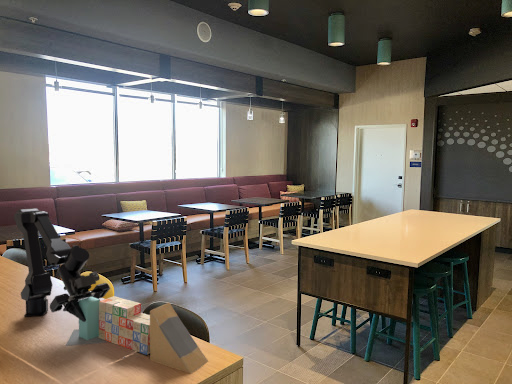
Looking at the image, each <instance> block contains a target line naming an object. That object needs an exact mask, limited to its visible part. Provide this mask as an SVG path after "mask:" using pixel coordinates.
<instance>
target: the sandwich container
mask: <svg viewBox="0 0 512 384" xmlns="http://www.w3.org/2000/svg"><path fill="white" fill-rule="evenodd" d="M149 315H150V354H149V355H150V356H149V359H150V360H149V361H152V362H154V363H157V364H160V365H163V366H166V367H169V368H172V369H176V370H178V371H182V372H184V373H188V374H193V373H195V372H196V371H198V370H199V369H201V368H202V367H203V366H205V365H206V364H207V363H208V362H209V360H208V358H207V357H206V355H205V354H204V353H203V351H202V350H201V348H200V347H199V345H198V344H197V342H196V341H195V340H194V338H193V337H192V335H191V334H190V332H189V330H188V329H187V327H186V326H185V325H184V323H183V321H182V320H181V319H180V316H178V314H177V312H176V310H174V307H173V305H171V303H170V302H167V303H165V304H163V305H160V306H157V307H155V308H153V309H151V310H150V311H149Z"/></svg>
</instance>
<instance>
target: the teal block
mask: <svg viewBox="0 0 512 384" xmlns="http://www.w3.org/2000/svg"><path fill="white" fill-rule="evenodd" d="M99 301H101V298H99V299H97V298H94V297H87V298H84V299H81V300H79V306H80V308H81V310H82V312H83V314H84V316H85V318H86V321H85V322H83V321H82V320H80V319H79V318H78V329H79V337H81V338H83V339H86V340H89V339H92V338H95V337H97V336H99Z"/></svg>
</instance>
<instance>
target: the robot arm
mask: <svg viewBox="0 0 512 384" xmlns="http://www.w3.org/2000/svg"><path fill="white" fill-rule="evenodd" d="M49 216H50V215H49V213H48V211H44V210H39V209H38V208H37V207H36V208H25V209H24V208H23V209H17V211H16V212H15V213H14V217H13V219H14V221H15V223H16V228H17V229H18V230H19V231H20V232H21V233H22V234H23V235H22V236H23V241H24V248H25V255H26V261H27V268H28V273H27V275H26V277H25V280H24V284H25V285H24V287H23V288H22V290H21V292H20V297H21V300H23V301H25V313H24V315H23V316H24V317H25V318H26V317H41V316H42V317H43V316H44V315H45V314H46V313H47V312H48V311H49V309H50V311H51V313H55V312H59V311H63V312H68V313H69V314H71V315H73V316H74V317H76V318H78V320H79V319H80V320H82V321H83V322H85V321H86V318H85V316H84V314H83V312H82V310H81V308H80V306H79V300H82V299H85V298H88V297H94V298H97V299H102V298H104V297H105V296H106V295H107V293H108V292H109V291H110V290H111V287H110V285H109V284H108V283H106V282H103V283H100V284H97V282H98V281H100V279H101V278H100V275H99V273H98V271H92V272H90V273H88V274H89V275H88V274H87V275H81V273H80V271H81V270H82V269H83V267H84V266H85V265H86V263H87V261H88V260H89V259H90V253H89V251H88V250H86V249H85V248H82V247H80V246H79V245H78V244H77V245H72V247H71V246H70V245H69V243H68V242H66V241H64V240H62V239H61V237H60V235H59V234H58V231H57V230H56V228H55V226H54V225H53V222H52V221H51V219H50V217H49ZM39 235H40V236H41V239H42V240H43V242H44V244H45V246H46V248H47V249H46V253H45V254H46V259H47V261H48V263H49V264H50V266H59V265H60V266H59V267H58V268H57V271H56V274H55V276H56V277H60V279H61V280H62V283H63V285H64V286H63V290H64V291H67V293H66V292H65V293H63V294H58V295H55V296H54V298H53V299H52V301H51V302H50V304H49V299H48V298H47V297H49V296H51V294H52V290H53V282H52V278H51V276H52V275H51V274H50V272H47V271H46V270H45V268H44V263H43V256H42V255H43V254H42V250H41V249H42V247H41V243H40V237H39ZM92 285H95V287H94V288H93V289H92V290H91V288H92ZM63 307H64V308H63Z"/></svg>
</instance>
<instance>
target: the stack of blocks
mask: <svg viewBox="0 0 512 384" xmlns="http://www.w3.org/2000/svg"><path fill="white" fill-rule="evenodd" d="M141 306H142V303H140V302H137V301H133V300H129V299H126V298H121V297H119V296H115V295H113V296H111V297H108V298H105V299H102V300H100V301H99V338H101V339H104V340H106V341H107V342H109V343H112V344H115V345H117V346H120V347H121V346H122V347H124V348H127V349H130V350H132V351H135V352H138V353H140V354H143V355H146V356H148V355H150V314H147V313H145V312H144V313H143V312H141V311H142V307H141Z"/></svg>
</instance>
